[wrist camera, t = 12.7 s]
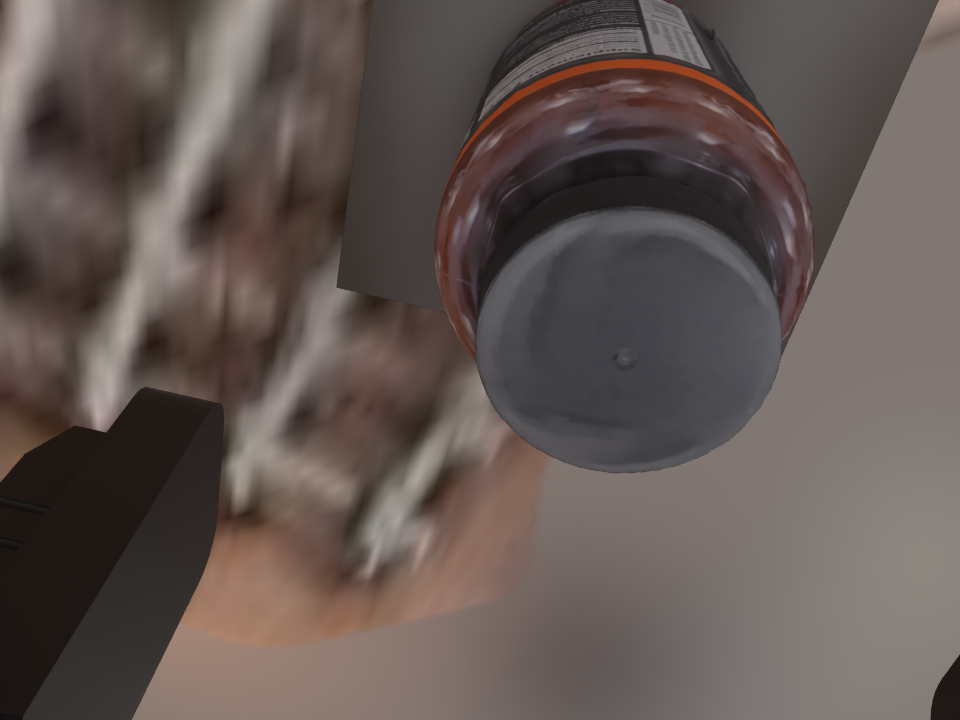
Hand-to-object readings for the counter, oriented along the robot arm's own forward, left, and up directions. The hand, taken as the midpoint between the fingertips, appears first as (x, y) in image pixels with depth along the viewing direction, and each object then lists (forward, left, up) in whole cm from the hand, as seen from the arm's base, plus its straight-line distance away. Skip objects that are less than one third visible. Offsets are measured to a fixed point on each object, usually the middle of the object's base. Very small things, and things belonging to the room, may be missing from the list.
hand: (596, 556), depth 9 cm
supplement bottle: (0, 0, -15) cm, 15 cm away
